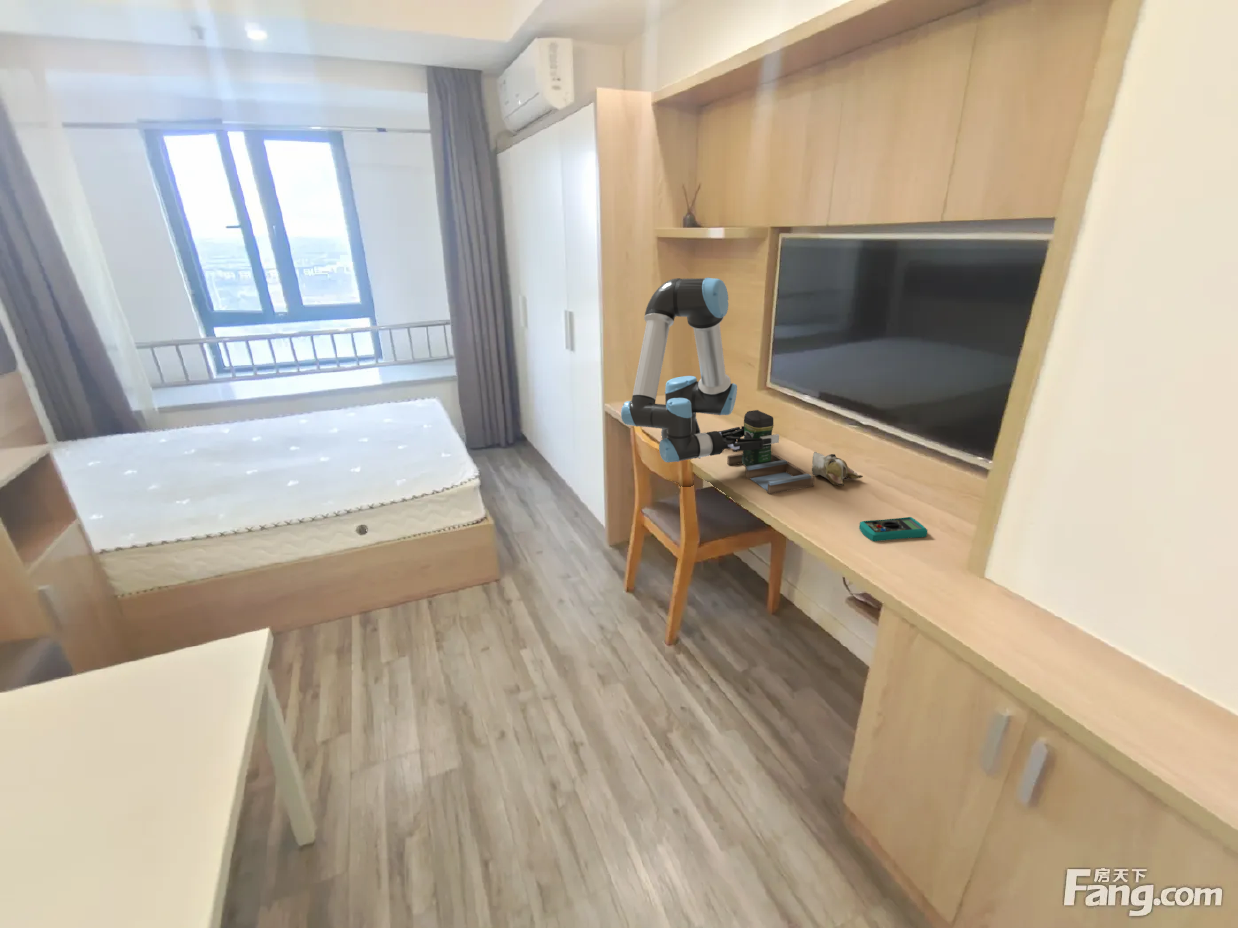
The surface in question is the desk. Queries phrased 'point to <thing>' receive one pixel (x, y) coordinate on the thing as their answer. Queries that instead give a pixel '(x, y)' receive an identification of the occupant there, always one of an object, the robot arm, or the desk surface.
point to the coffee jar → (756, 428)
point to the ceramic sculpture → (832, 468)
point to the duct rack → (775, 474)
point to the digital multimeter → (892, 529)
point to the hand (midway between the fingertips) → (770, 434)
